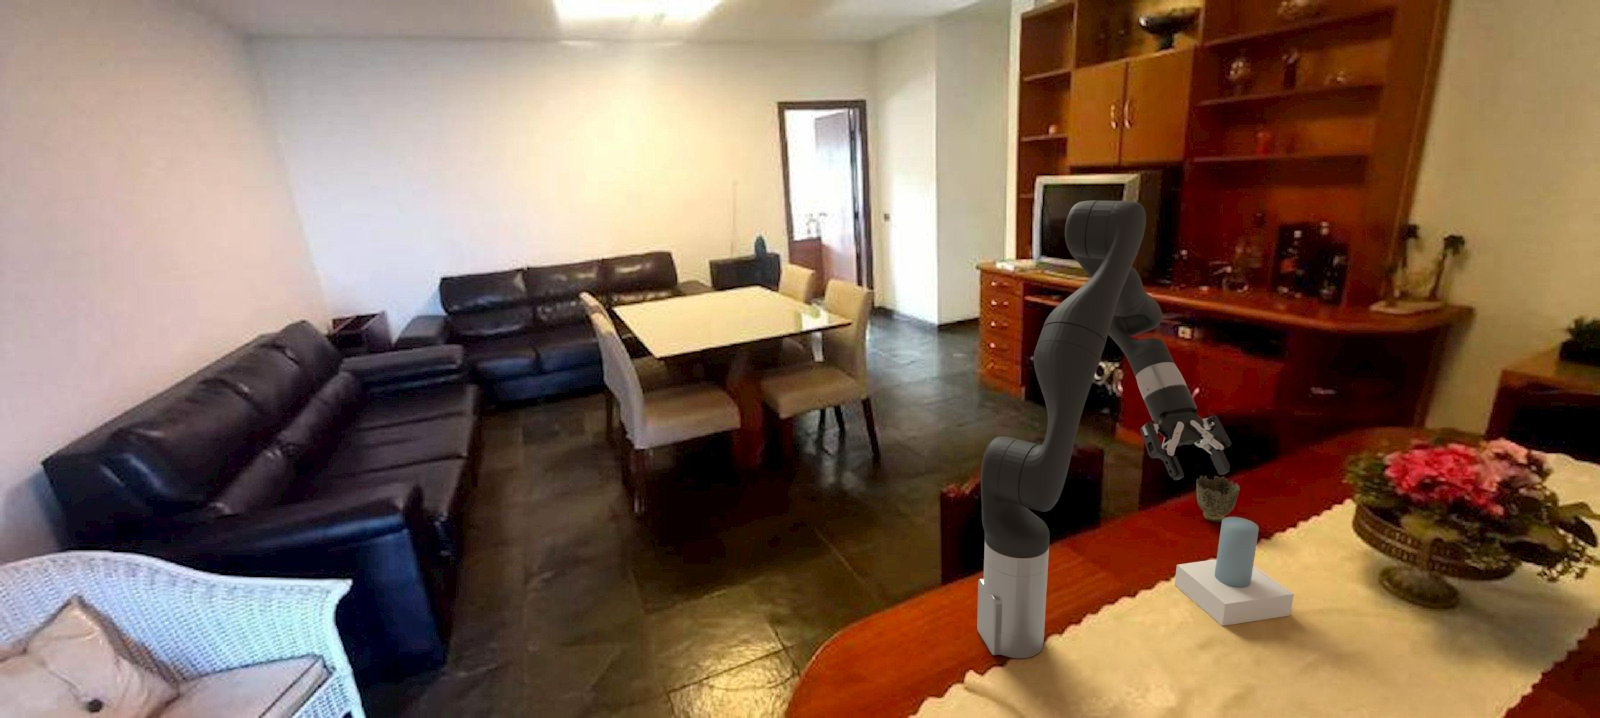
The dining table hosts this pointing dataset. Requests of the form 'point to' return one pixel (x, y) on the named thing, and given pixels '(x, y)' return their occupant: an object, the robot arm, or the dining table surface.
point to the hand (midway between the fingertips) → (1202, 475)
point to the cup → (1216, 497)
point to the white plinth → (1233, 594)
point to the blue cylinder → (1236, 552)
